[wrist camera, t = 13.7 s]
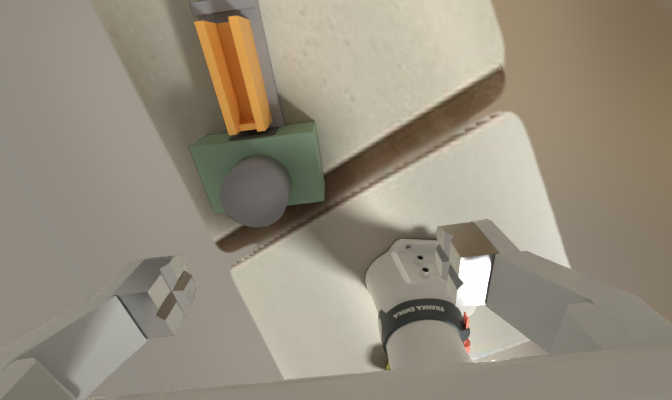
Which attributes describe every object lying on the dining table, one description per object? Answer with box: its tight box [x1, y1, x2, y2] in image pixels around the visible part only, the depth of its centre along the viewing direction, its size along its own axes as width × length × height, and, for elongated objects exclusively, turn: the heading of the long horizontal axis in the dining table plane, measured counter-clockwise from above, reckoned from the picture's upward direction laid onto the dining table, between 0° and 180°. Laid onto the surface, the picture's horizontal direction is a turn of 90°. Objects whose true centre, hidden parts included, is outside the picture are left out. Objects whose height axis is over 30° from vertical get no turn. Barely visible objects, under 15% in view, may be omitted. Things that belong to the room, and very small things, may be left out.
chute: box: [194, 15, 273, 135], centre depth 34 cm, size 5×12×5 cm, turn 7°
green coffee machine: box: [189, 0, 325, 227], centre depth 35 cm, size 16×25×11 cm, turn 7°
